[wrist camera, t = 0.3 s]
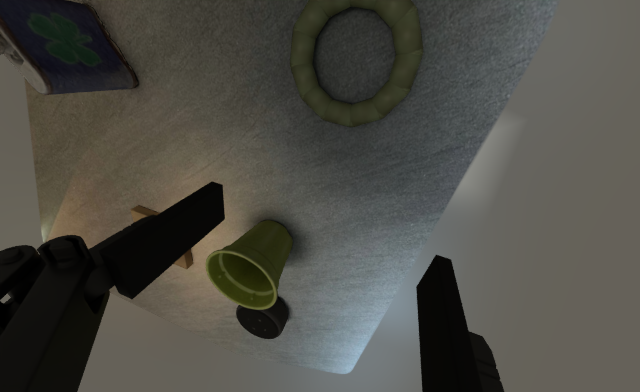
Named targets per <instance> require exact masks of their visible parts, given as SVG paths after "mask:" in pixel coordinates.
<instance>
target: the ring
mask: <svg viewBox="0 0 640 392" xmlns="http://www.w3.org/2000/svg"><path fill="white" fill-rule="evenodd" d="M351 6H352V7H358V8H364V9H370V10H375V11H376V13H377V14H378V15H379V16H380V17H381V18H382V19H383V20H384V21H385V22H386V23H387V25H388V26H389V27H390V28H391V31H392V36H393V42H394V47H395V53H396V57H395V60H394V63H393V67H392V70H391V73H390V77H389V80H388V81H387V82H386V84H385V85H384V86H383V87H382V88H381V89H380V90H379V91H378V92H377V93H376V94H375V95H374V96H373V98H371V99H368V100H365V101H362V102H359V103H355V104H348V103H344V102H340V101H336V100H333V99H332V98H331V97H330V96H329V95H328V94H327V93H326V92H325V91H324V90H323V89H322V88H321V87H320V86H319V84H318V81H317V78H316V74H315V71H314V68H313V65H312V61H313V54H314V47H315V39H316V37H317V36H318V34H319V33H320V31H321V30H322V28H323V27H324V25H325V24H326V22H327V21H328V19H329V17H331V16H333V15H335V14H337V13H339V12H341V11H343V10H345V9H347V8H349V7H351ZM422 56H423V43H422V36H421V29H420V22H419V15H418V10H417V7H416V6H415V4H414V3H413V2H412V1H411V0H309V1H308V2H307V4H306V6H305V8H304V9H303V11H302V13H301V14H300V16H299V18H298V20H297V21H296V23H295V25H294V28H293V35H292V46H291V57H290V68H291V71H292V74H293V77H294V80H295V83H296V85H297V88H298V91H299V94H300V97H301V99H302V100H303V101H304V102H305V103H306V104H307V105H308V106H309V107H310V108H311V109H312V110H313V111H314V112H315V113H316V114H317V115H318V116H319V117H320V118H321V119H323V120H325V121H328V122H332V123H336V124H340V125H344V126H348V127H356V126H359V125H363V124H366V123H370V122H373V121H377V120H380V119H382V118H384V117H385V116H386V115H387V114H388V113H389V112H390V111H391V110H392V109H393V108H394V107H395V106H396V105H397V104H398V103H399V102H400V101H401V100H402V99H403V98H404V97H405V96H407V94H408V93H409V92H410V90H411V87H412V84H413V81H414V79H415V76H416V73H417V70H418V67H419V64H420V61H421V59H422Z"/></svg>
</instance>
